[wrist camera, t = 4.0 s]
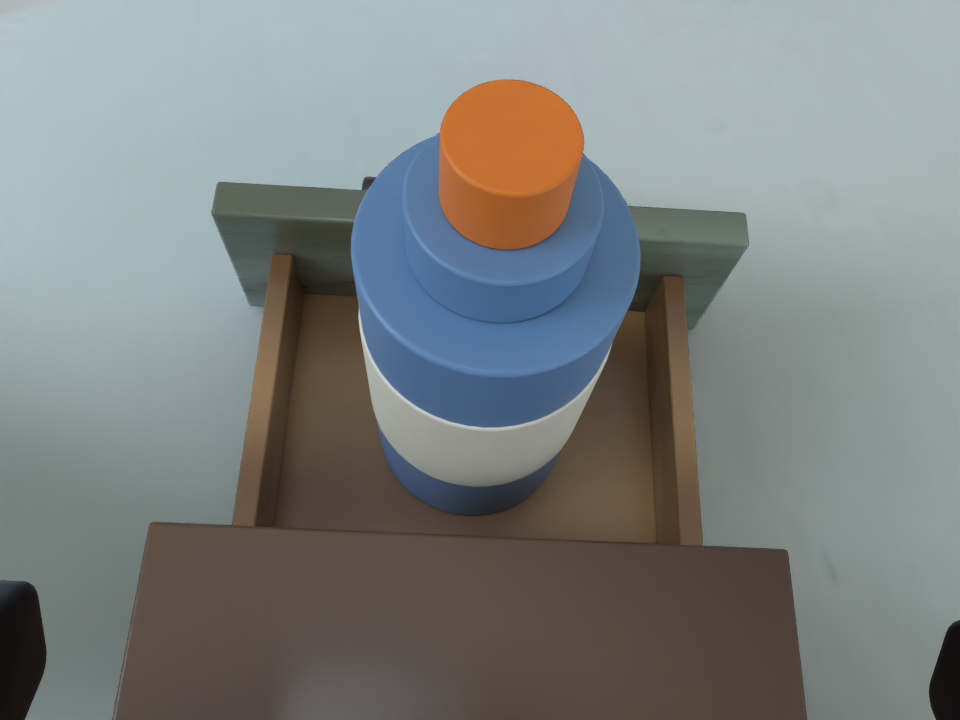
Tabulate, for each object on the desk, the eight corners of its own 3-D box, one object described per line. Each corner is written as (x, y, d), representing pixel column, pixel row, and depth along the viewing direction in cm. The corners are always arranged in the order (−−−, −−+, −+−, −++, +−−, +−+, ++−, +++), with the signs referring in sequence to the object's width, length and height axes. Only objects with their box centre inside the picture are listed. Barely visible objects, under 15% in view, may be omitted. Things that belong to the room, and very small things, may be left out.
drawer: (733, 844, 18) (822, 877, 14) (166, 827, 18) (88, 856, 14) (687, 245, 24) (739, 147, 20) (262, 221, 24) (228, 115, 20)
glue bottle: (600, 432, 21) (765, 150, 11) (465, 558, 19) (507, 371, 9) (475, 309, 22) (515, -51, 12) (338, 420, 20) (253, 118, 10)
